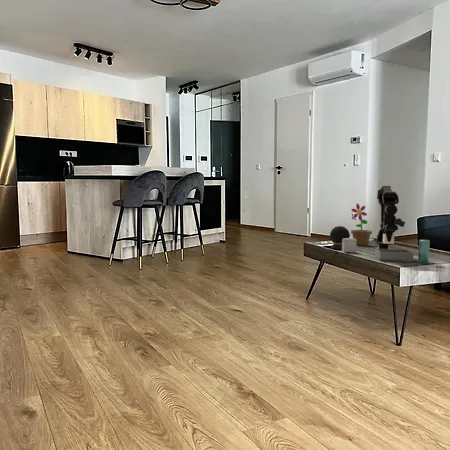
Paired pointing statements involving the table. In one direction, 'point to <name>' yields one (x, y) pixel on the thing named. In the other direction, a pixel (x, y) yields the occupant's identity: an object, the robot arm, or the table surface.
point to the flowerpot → (361, 235)
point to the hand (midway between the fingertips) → (388, 241)
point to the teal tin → (423, 251)
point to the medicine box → (349, 245)
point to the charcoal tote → (394, 255)
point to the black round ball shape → (338, 236)
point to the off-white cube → (387, 240)
